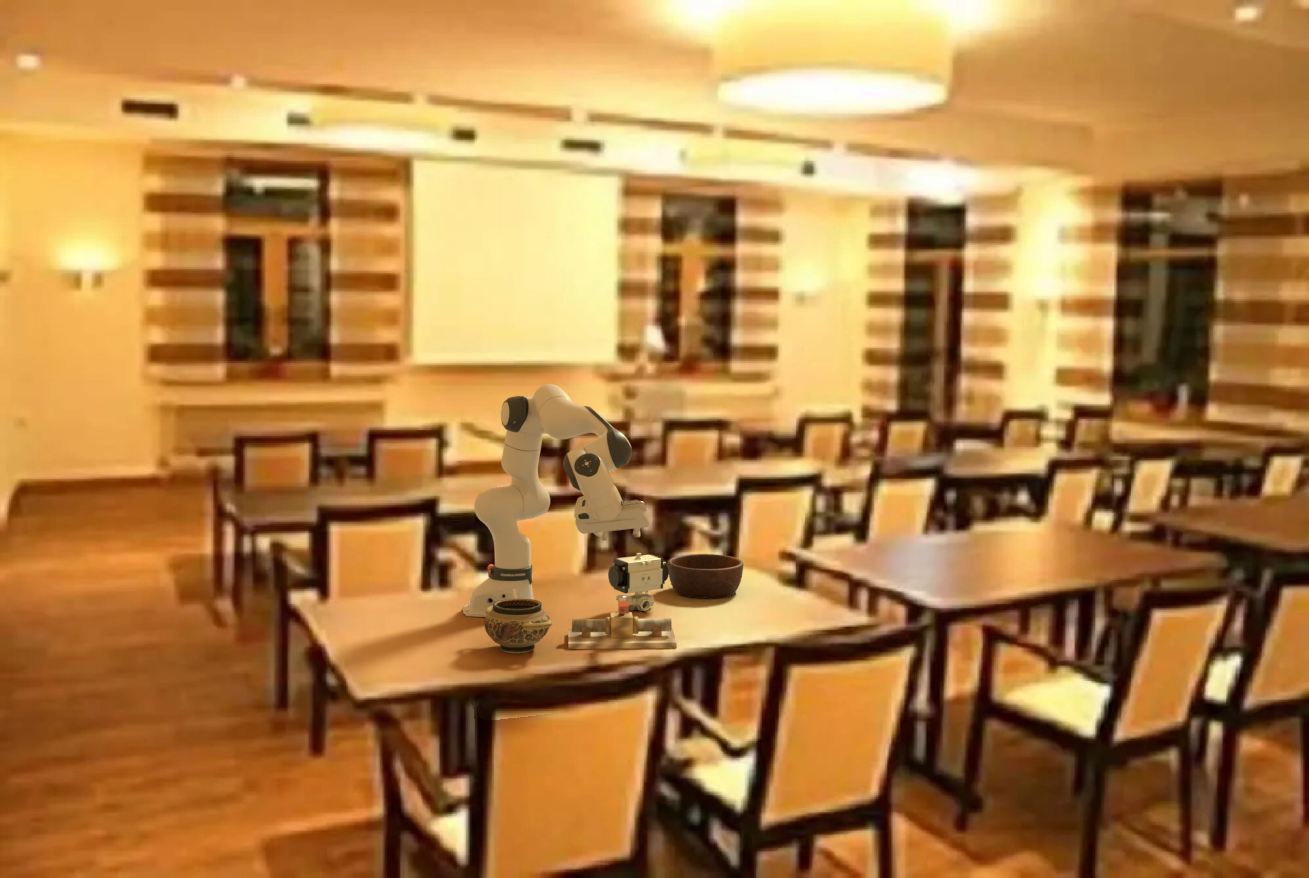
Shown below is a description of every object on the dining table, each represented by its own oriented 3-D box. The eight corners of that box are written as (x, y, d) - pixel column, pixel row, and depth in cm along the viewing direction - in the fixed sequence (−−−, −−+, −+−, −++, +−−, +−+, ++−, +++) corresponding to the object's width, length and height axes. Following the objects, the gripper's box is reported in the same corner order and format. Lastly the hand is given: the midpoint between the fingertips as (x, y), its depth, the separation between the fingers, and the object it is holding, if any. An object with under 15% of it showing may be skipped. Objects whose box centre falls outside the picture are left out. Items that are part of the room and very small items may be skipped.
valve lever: (616, 600, 357) (616, 593, 357) (626, 600, 357) (626, 593, 357) (618, 613, 342) (618, 606, 342) (629, 613, 342) (629, 606, 342)
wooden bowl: (652, 593, 413) (652, 562, 412) (694, 579, 434) (694, 550, 432) (717, 605, 399) (717, 573, 398) (757, 590, 419) (757, 559, 418)
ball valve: (621, 616, 384) (621, 559, 382) (607, 610, 391) (607, 553, 389) (671, 609, 393) (671, 553, 391) (656, 603, 400) (657, 548, 398)
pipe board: (568, 648, 348) (568, 608, 347) (568, 634, 363) (568, 595, 362) (676, 647, 350) (677, 607, 349) (672, 633, 365) (672, 594, 364)
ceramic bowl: (563, 664, 343) (574, 609, 344) (511, 660, 332) (522, 603, 332) (511, 645, 362) (522, 593, 362) (460, 640, 350) (471, 587, 351)
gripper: (644, 490, 334) (658, 524, 343) (572, 498, 339) (588, 531, 349) (641, 508, 329) (656, 542, 338) (568, 516, 335) (584, 549, 344)
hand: (621, 537), depth 344 cm, fingers open, 8 cm apart
